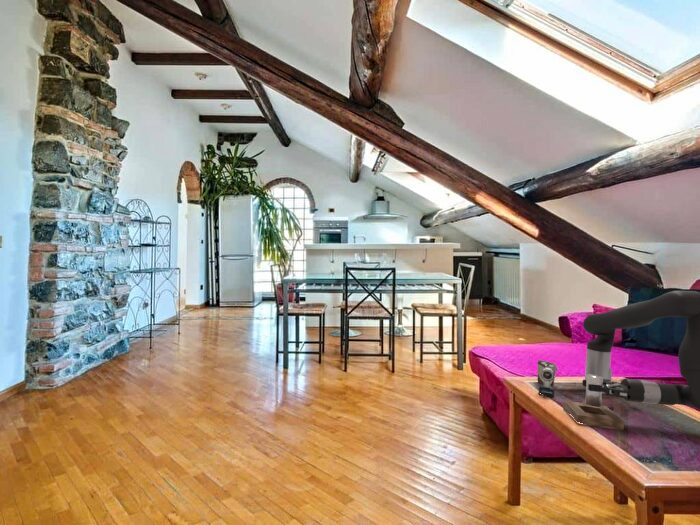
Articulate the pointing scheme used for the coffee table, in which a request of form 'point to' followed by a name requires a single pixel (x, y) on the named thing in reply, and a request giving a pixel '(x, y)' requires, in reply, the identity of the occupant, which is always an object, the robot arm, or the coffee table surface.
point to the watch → (547, 382)
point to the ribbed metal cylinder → (593, 396)
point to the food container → (542, 366)
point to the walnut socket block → (594, 415)
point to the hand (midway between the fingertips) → (585, 384)
